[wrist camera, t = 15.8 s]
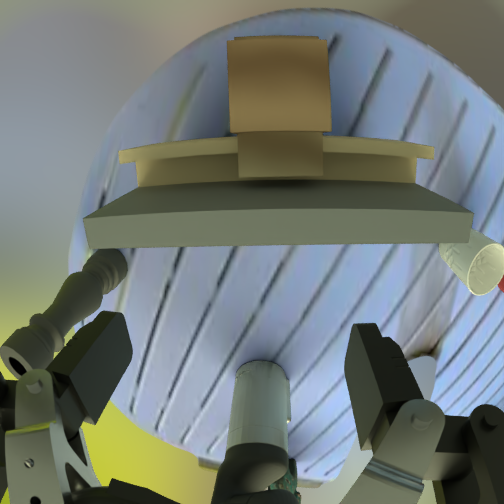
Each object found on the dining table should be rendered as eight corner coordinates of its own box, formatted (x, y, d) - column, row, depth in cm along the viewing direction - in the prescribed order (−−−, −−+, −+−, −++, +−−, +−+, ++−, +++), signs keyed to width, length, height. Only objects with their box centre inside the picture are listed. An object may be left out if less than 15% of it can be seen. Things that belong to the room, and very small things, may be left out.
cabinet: (307, 165, 29) (332, 180, 18) (246, 165, 29) (232, 181, 18) (303, 64, 25) (324, 21, 14) (242, 65, 25) (226, 22, 14)
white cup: (458, 209, 38) (496, 231, 29) (478, 240, 40) (512, 266, 31) (426, 244, 41) (459, 274, 32) (449, 273, 42) (479, 305, 33)
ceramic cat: (301, 464, 67) (303, 525, 49) (278, 467, 68) (277, 527, 50) (287, 431, 60) (288, 507, 42) (259, 435, 61) (256, 509, 43)
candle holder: (96, 241, 43) (-8, 333, 20) (130, 253, 44) (35, 361, 21) (93, 273, 46) (4, 372, 23) (125, 286, 46) (45, 397, 23)
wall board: (362, 219, 40) (447, 320, 18) (189, 221, 41) (111, 326, 19) (365, 136, 35) (479, 157, 13) (181, 139, 37) (74, 162, 15)
